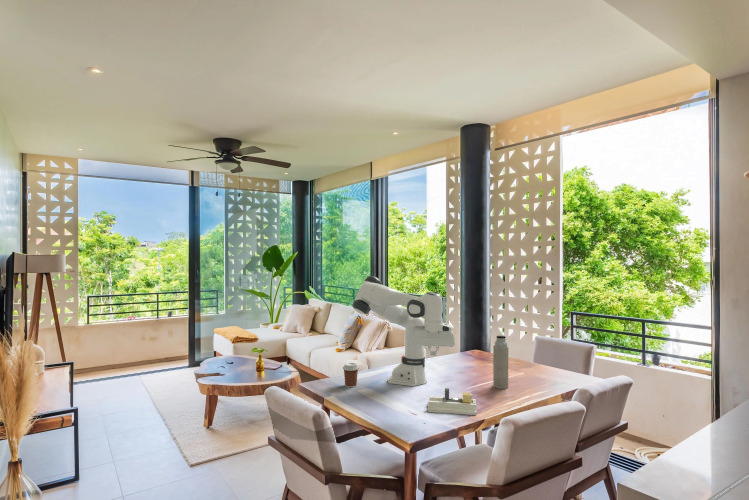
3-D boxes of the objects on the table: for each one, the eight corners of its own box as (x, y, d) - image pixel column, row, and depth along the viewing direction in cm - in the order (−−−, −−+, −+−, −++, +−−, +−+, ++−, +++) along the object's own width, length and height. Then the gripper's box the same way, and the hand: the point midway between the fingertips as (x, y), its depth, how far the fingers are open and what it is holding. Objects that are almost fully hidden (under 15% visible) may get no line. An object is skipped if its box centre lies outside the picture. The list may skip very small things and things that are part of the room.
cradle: (428, 411, 205) (428, 403, 205) (429, 403, 217) (429, 394, 217) (476, 415, 201) (476, 406, 201) (475, 406, 213) (475, 397, 213)
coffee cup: (356, 382, 251) (356, 361, 251) (361, 387, 242) (361, 365, 243) (340, 384, 248) (340, 362, 248) (345, 388, 239) (345, 366, 239)
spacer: (462, 407, 206) (462, 395, 206) (462, 405, 210) (462, 392, 210) (471, 408, 205) (471, 395, 205) (471, 405, 209) (471, 392, 209)
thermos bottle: (491, 386, 244) (491, 336, 244) (497, 383, 250) (497, 334, 250) (504, 389, 239) (504, 338, 239) (510, 386, 245) (510, 335, 245)
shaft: (442, 405, 208) (442, 390, 208) (443, 403, 212) (443, 388, 212) (462, 407, 207) (462, 391, 207) (462, 404, 210) (462, 389, 210)
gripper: (411, 326, 210) (411, 355, 210) (454, 328, 206) (454, 357, 206) (412, 324, 216) (412, 352, 216) (454, 325, 212) (454, 354, 212)
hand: (433, 355), depth 211 cm, fingers closed
